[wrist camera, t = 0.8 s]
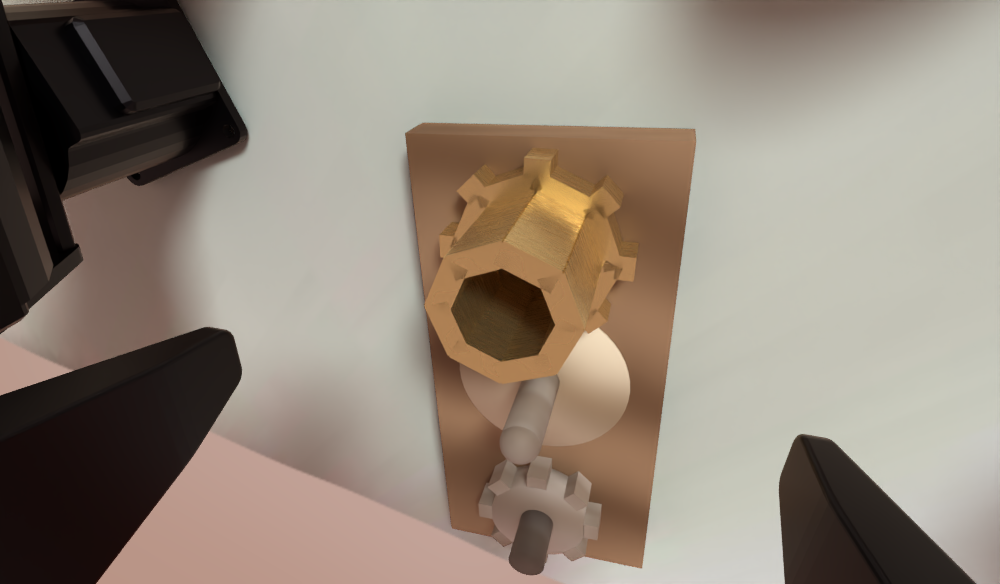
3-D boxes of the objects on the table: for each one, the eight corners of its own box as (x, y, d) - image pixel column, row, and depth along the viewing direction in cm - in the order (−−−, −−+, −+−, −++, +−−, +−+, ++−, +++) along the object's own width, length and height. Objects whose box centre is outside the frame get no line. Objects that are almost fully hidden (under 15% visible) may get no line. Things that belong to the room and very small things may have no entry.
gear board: (643, 540, 27) (635, 664, 22) (461, 503, 29) (418, 609, 24) (695, 128, 18) (700, 188, 13) (422, 122, 20) (340, 171, 15)
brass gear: (493, 336, 21) (447, 423, 17) (426, 183, 19) (354, 241, 15) (657, 302, 19) (651, 395, 15) (602, 123, 17) (576, 171, 12)
